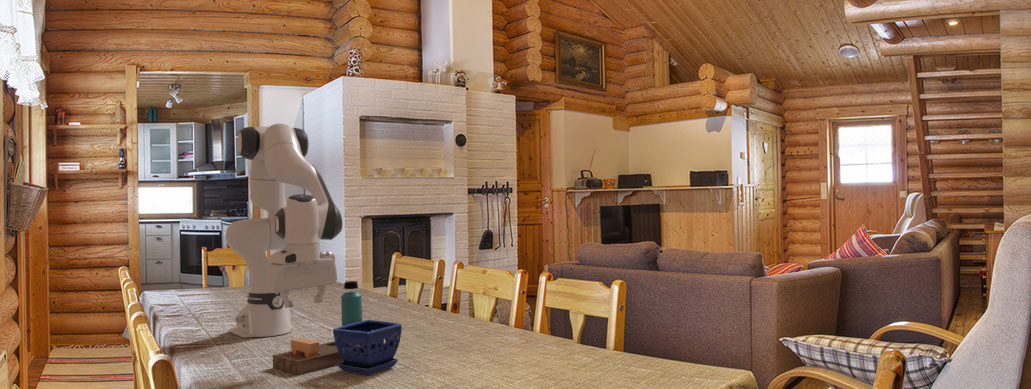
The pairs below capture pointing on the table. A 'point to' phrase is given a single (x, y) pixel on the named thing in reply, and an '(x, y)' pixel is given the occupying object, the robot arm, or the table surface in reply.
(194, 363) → the table surface
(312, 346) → the tan two-pronged block
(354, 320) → the beverage bottle
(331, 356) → the block with square holes
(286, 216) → the robot arm
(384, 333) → the flower pot
